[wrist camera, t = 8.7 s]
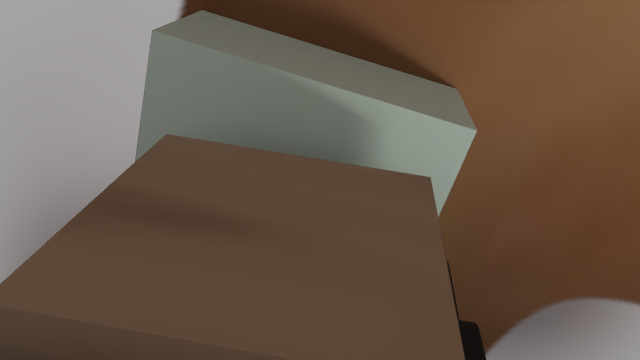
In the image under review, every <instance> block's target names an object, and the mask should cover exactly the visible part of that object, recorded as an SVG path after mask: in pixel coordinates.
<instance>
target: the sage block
mask: <svg viewBox="0 0 640 360" xmlns="http://www.w3.org/2000/svg"><path fill="white" fill-rule="evenodd" d="M476 132H477V129H476V127H475V125H474V123H473V121H472V119H471V117H470V115H469V113H468V110H467V108H466V106H465V104H464V102H463V100H462V98H461V96H460V94H459V91H458V89H456V88H453V87H449V86H446V85H443V84H440V83H437V82H433V81H430V80H427V79H424V78H420V77H417V76H414V75H411V74H407V73H404V72H401V71H398V70H394V69H391V68H388V67H385V66H382V65H378V64H375V63H372V62H369V61H365V60H362V59H359V58H356V57H352V56H349V55H346V54H343V53H339V52H336V51H333V50H330V49H327V48H323V47H320V46H317V45H314V44H310V43H307V42H304V41H301V40H297V39H294V38H291V37H288V36H284V35H281V34H278V33H275V32H272V31H268V30H265V29H262V28H259V27H255V26H252V25H249V24H246V23H242V22H239V21H236V20H233V19H229V18H226V17H223V16H220V15H217V14H213V13H210V12H207V11H204V10H201V11H199V12H196V13H194V14H191V15H189V16H187V17H184V18H182V19H179V20H177V21H174V22H172V23H170V24H167V25H165V26H162V27H160V28H157V29H155V30H153V31H152V37H151V44H150V52H149V59H148V67H147V75H146V83H145V90H144V98H143V106H142V114H141V121H140V129H139V136H138V144H137V151H136V159H135V162H136V161H137V160H138V159H139V158H140V157H141V156H142V155H144V154H145V153H146V152H147V151H148V150H149V149H150V148H151V147H152V146H154V145H155V144H156V143H157V142H158V141H159V140H160V139H161V138H162V137H163V136H165V135H166V134H170V135H176V136H182V137H188V138H194V139H200V140H206V141H213V142H219V143H225V144H231V145H237V146H243V147H249V148H255V149H262V150H268V151H274V152H280V153H286V154H292V155H298V156H304V157H311V158H317V159H323V160H329V161H335V162H341V163H347V164H353V165H360V166H366V167H372V168H378V169H384V170H390V171H396V172H402V173H409V174H415V175H421V176H427V177H431V182H432V187H433V192H434V197H435V203H436V208H437V213H438V217H439V215H440V212H441V210H442V208H443V206H444V204H445V201H446V199H447V197H448V195H449V192H450V190H451V188H452V186H453V183H454V181H455V179H456V177H457V174H458V172H459V170H460V168H461V165H462V163H463V161H464V159H465V157H466V154H467V152H468V150H469V148H470V145H471V143H472V141H473V139H474V136H475V134H476Z"/></svg>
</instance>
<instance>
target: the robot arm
mask: <svg viewBox="0 0 640 360" xmlns="http://www.w3.org/2000/svg"><path fill="white" fill-rule="evenodd" d="M446 261H447V260H446ZM447 267H448V272H449V277H450V282H451V288H452V293H453V298H454V304H455V309H456V314H457V320H458V325H459V330H460V336H461V341H462V346H463V351H464V357H465V360H486V357H485V353H484V349H483V344H482V340H481V336H480V332H479V328H478V326H477V324H476V323H473V322H468V321H462V320H459V316H458V311H457V306H456V300H455V295H454V290H453V285H452V279H451V274H450V269H449V264H448V261H447Z"/></svg>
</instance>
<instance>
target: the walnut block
mask: <svg viewBox="0 0 640 360" xmlns="http://www.w3.org/2000/svg"><path fill="white" fill-rule="evenodd" d="M0 360H465V357H464V351H463V346H462V341H461V336H460V330H459V325H458V320H457V314H456V309H455V304H454V298H453V293H452V288H451V282H450V277H449V272H448V267H447V261H446V256H445V251H444V245H443V240H442V235H441V229H440V224H439V219H438V213H437V208H436V203H435V197H434V192H433V187H432V182H431V177H427V176H421V175H415V174H409V173H402V172H396V171H390V170H384V169H378V168H372V167H366V166H360V165H353V164H347V163H341V162H335V161H329V160H323V159H317V158H311V157H304V156H298V155H292V154H286V153H280V152H274V151H268V150H262V149H255V148H249V147H243V146H237V145H231V144H225V143H219V142H213V141H206V140H200V139H194V138H188V137H182V136H176V135H170V134H166V135H165V136H163V137H162V138H161V139H160V140H159V141H158V142H157V143H156V144H155V145H154V146H152V147H151V148H150V149H149V150H148V151H147V152H146V153H145V154H144V155H142V156H141V157H140V158H139V159H138V160H137V161H136V162H135V163H134V164H133V165H131V166H130V167H129V168H128V169H127V170H126V171H125V172H124V173H123V174H121V175H120V176H119V177H118V178H117V179H116V180H115V181H114V182H113V183H112V184H110V185H109V186H108V187H107V188H106V189H105V190H104V191H103V192H102V193H100V194H99V195H98V196H97V197H96V198H95V199H94V200H93V201H92V202H91V203H89V204H88V205H87V206H86V207H85V208H84V209H83V210H82V211H81V212H79V213H78V214H77V215H76V216H75V217H74V218H73V219H72V220H71V221H70V222H68V223H67V224H66V225H65V226H64V227H63V228H62V229H61V230H60V231H59V232H57V233H56V234H55V235H54V236H53V237H52V238H51V239H50V240H49V241H47V242H46V243H45V244H44V245H43V246H42V247H41V248H40V249H39V250H38V251H37V252H35V253H34V254H33V255H32V256H31V257H30V258H29V259H28V260H26V261H25V262H24V263H23V264H22V265H21V266H20V267H19V268H18V269H16V270H15V271H14V272H13V273H12V274H11V275H10V276H9V277H8V278H7V279H6V280H4V281H3V282H2V283H1V284H0Z"/></svg>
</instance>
